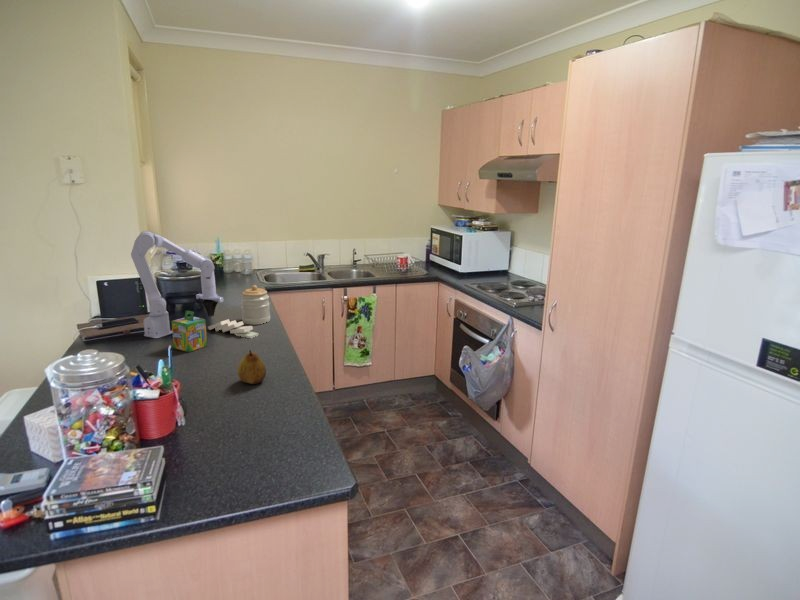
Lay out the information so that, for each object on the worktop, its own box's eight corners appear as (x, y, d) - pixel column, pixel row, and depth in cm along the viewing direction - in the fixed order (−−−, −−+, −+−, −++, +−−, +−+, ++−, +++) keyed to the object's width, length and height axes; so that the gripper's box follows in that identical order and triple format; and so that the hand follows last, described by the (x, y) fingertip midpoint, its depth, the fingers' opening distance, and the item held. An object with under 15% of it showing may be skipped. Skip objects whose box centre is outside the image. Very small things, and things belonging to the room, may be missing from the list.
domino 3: (231, 329, 209) (243, 324, 204) (222, 332, 205) (235, 327, 200) (230, 326, 208) (242, 321, 204) (221, 329, 204) (233, 324, 200)
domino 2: (224, 328, 211) (237, 323, 206) (216, 331, 206) (228, 326, 202) (223, 325, 210) (235, 319, 206) (214, 328, 206) (227, 322, 202)
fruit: (250, 374, 161) (248, 341, 158) (271, 379, 158) (270, 345, 155) (232, 384, 153) (229, 349, 150) (255, 389, 150) (252, 353, 147)
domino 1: (217, 327, 212) (230, 322, 208) (209, 330, 208) (221, 325, 204) (216, 324, 212) (228, 319, 208) (207, 326, 208) (220, 321, 204)
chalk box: (173, 348, 185) (169, 312, 181) (192, 342, 192) (189, 307, 189) (189, 353, 180) (185, 316, 177) (208, 346, 188) (205, 310, 185)
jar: (274, 318, 228) (272, 282, 224) (264, 325, 216) (262, 288, 212) (248, 317, 230) (246, 281, 225) (237, 324, 217) (234, 287, 213)
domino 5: (243, 333, 206) (258, 336, 202) (234, 336, 202) (250, 339, 198) (242, 330, 206) (258, 333, 202) (234, 333, 202) (250, 336, 198)
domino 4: (238, 330, 207) (253, 329, 202) (230, 333, 203) (244, 332, 198) (238, 326, 207) (252, 325, 202) (229, 329, 203) (243, 328, 198)
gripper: (227, 286, 206) (229, 315, 210) (203, 283, 212) (206, 311, 216) (215, 289, 200) (217, 319, 204) (191, 285, 206) (194, 315, 210)
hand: (211, 315), depth 209 cm, fingers closed
